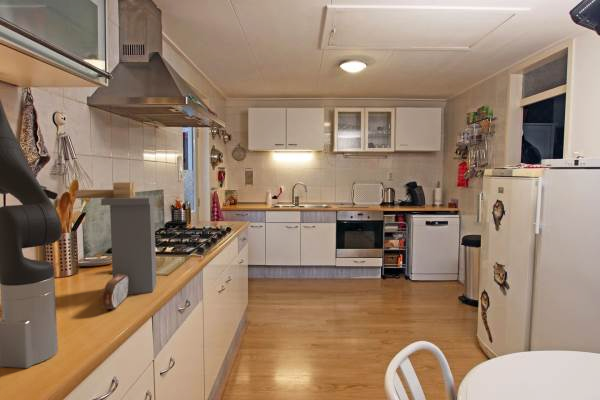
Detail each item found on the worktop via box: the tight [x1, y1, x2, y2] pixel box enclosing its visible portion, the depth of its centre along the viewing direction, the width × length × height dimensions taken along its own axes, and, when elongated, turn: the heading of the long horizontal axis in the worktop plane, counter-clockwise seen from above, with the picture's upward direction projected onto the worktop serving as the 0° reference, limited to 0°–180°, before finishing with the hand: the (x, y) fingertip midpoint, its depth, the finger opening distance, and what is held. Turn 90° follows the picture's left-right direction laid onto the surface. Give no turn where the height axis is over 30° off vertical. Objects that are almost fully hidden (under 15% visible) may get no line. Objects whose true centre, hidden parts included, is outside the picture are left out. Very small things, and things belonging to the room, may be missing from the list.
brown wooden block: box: [74, 181, 136, 199], centre depth 117 cm, size 8×17×5 cm, turn 106°
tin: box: [101, 274, 129, 310], centre depth 108 cm, size 15×3×8 cm, turn 8°
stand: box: [100, 195, 157, 295], centre depth 120 cm, size 14×14×32 cm
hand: (50, 197), depth 110 cm, fingers open, 8 cm apart
